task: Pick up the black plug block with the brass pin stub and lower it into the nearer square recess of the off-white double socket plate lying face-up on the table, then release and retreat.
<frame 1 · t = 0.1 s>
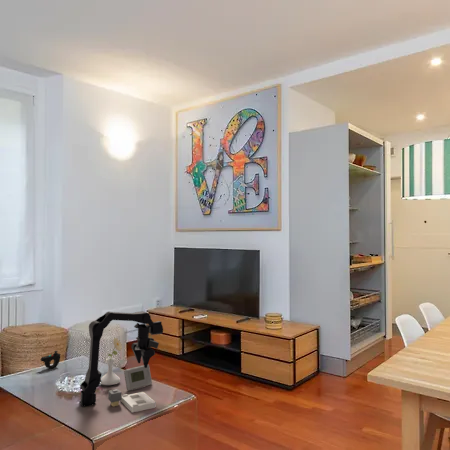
hand: (142, 365, 222), 15 cm above the table, fingers open, 9 cm apart
socket: (137, 404, 206), on the table
flower in vase: (110, 383, 235), on the table
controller: (50, 368, 260), on the table
plug: (114, 404, 205), on the table
digital clock: (137, 387, 231), on the table
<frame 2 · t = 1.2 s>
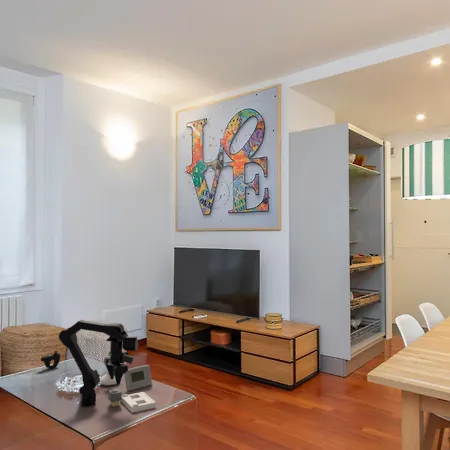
hand: (115, 382, 206), 11 cm above the table, fingers open, 9 cm apart
nothing on the table moved.
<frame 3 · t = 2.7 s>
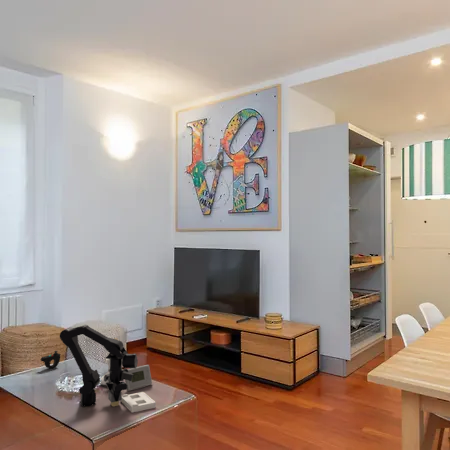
hand: (114, 399, 205), 3 cm above the table, fingers closed on plug, 5 cm apart
plug: (114, 404, 205), on the table, touching gripper
everything else where it was.
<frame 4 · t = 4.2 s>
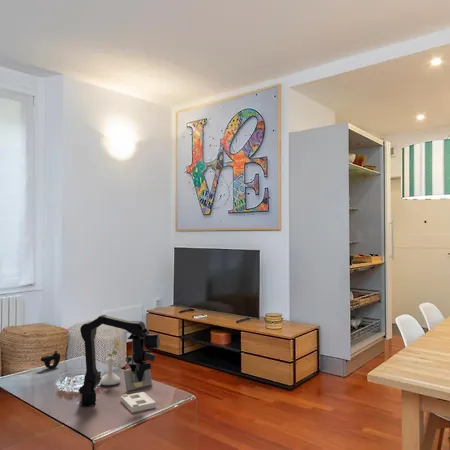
hand: (138, 380, 204), 13 cm above the table, fingers closed on plug, 5 cm apart
plug: (138, 385, 204), point 10 cm above the table, touching gripper
everything else where it was.
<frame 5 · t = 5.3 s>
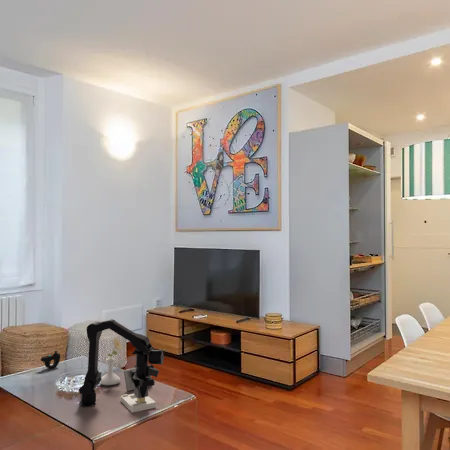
hand: (141, 395, 203), 5 cm above the table, fingers closed on plug, 5 cm apart
plug: (140, 400, 203), point 3 cm above the table, touching gripper
everything else where it was.
when the fingers open (3 cm above the table, at t = 6.0 s): plug stays where it is, resting on socket.
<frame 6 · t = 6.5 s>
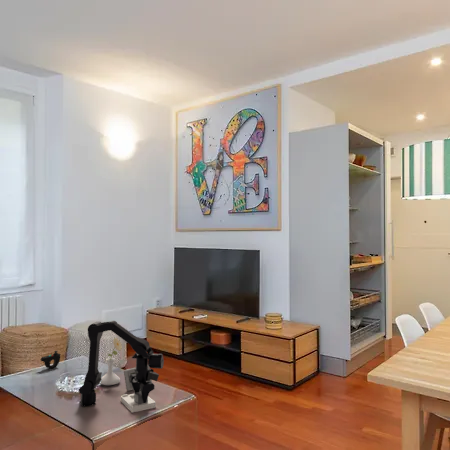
hand: (140, 399, 203), 3 cm above the table, fingers open, 9 cm apart
plug: (140, 407, 203), resting on socket
everything else where it was.
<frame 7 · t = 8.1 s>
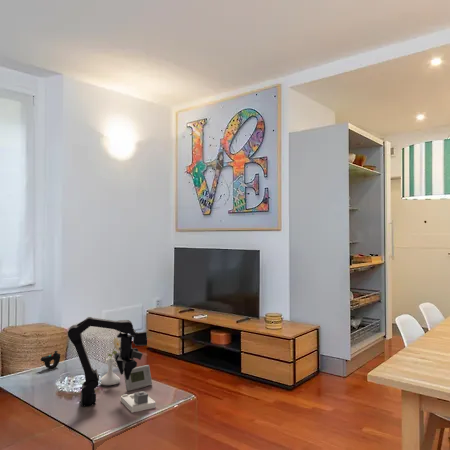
hand: (124, 377, 211), 12 cm above the table, fingers open, 9 cm apart
nothing on the table moved.
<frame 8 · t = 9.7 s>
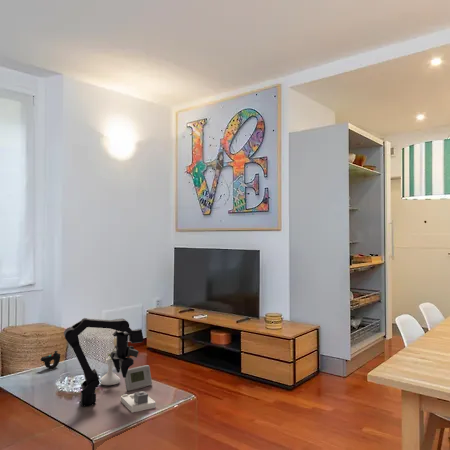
hand: (121, 375, 213), 12 cm above the table, fingers open, 9 cm apart
nothing on the table moved.
at the end: plug 0.0 cm from the target spot on the socket, point 0.0 cm above the socket's base; the gripper is holding nothing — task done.
